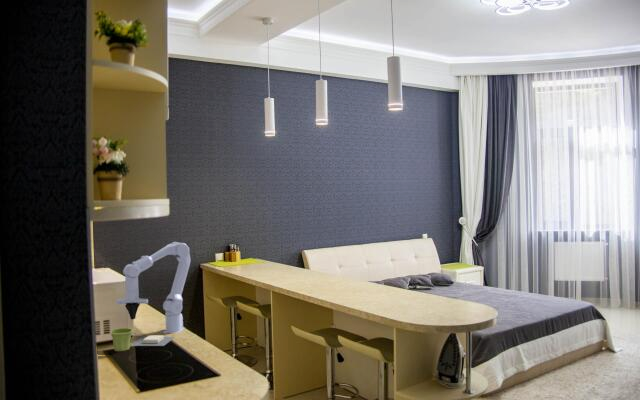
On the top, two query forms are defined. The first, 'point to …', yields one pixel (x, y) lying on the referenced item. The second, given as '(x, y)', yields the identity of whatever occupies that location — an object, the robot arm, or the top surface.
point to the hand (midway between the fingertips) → (133, 318)
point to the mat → (161, 343)
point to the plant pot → (121, 338)
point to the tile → (153, 339)
